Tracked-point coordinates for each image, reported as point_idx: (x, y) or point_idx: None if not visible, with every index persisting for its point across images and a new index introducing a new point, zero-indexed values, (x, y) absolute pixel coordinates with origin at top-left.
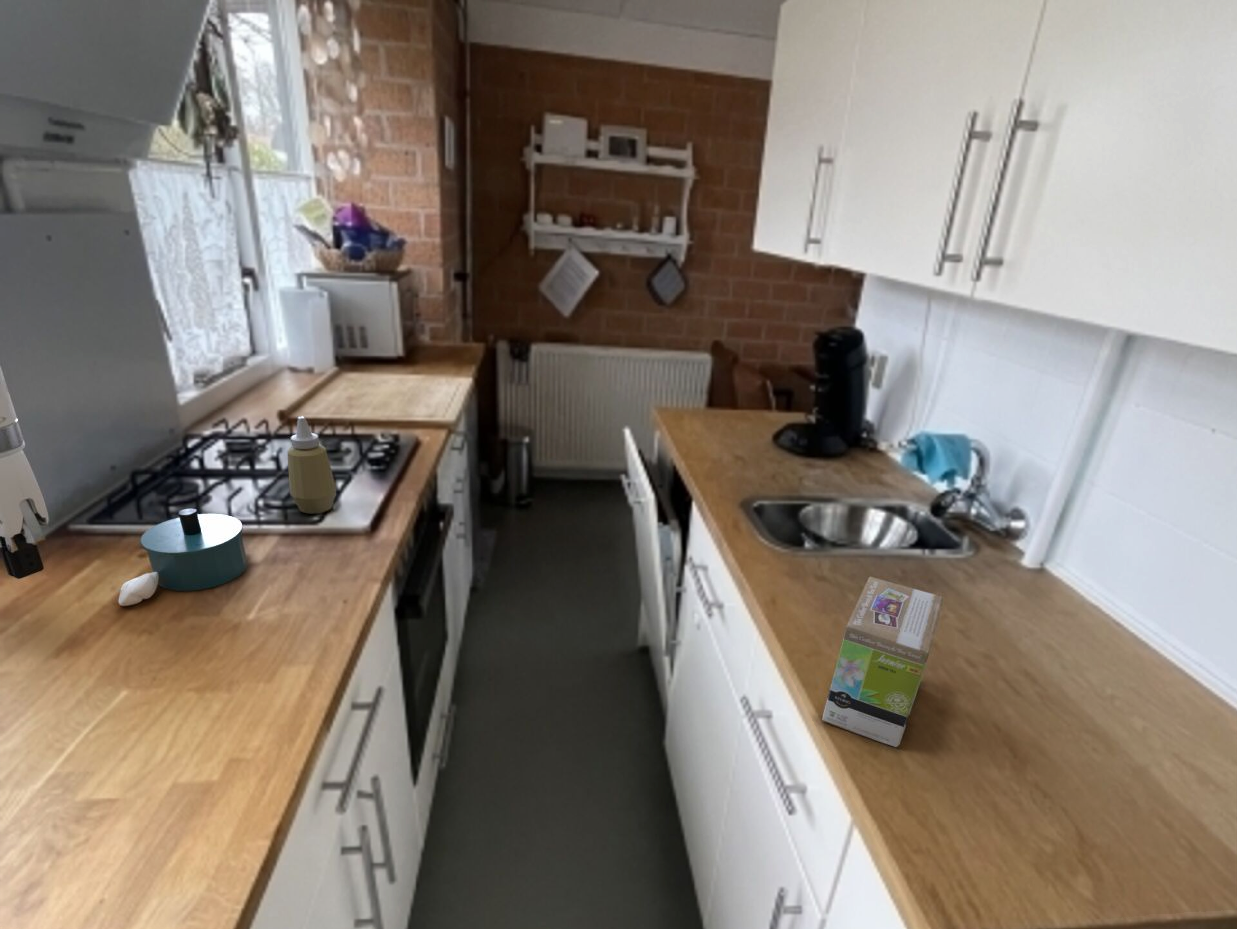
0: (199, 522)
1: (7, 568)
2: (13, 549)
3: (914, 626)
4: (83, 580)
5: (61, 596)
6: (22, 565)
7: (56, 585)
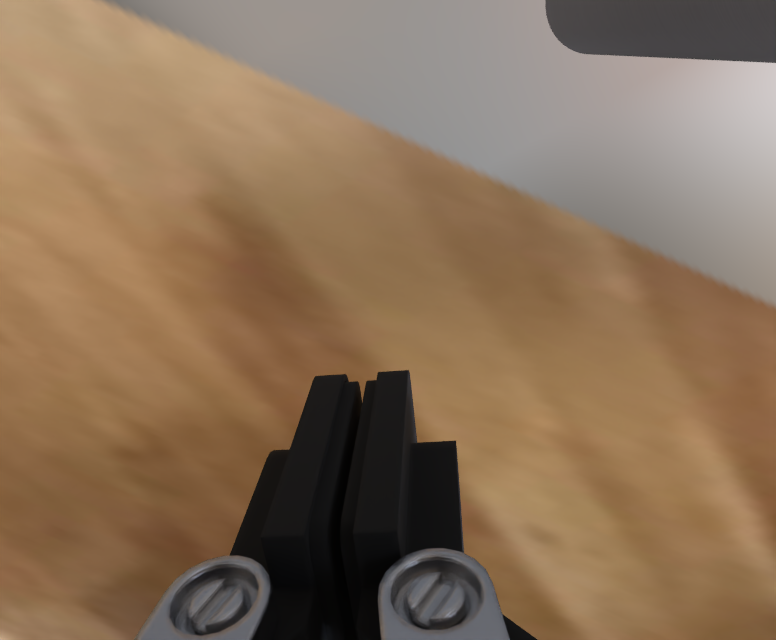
0: None
1: (382, 403)
2: (166, 598)
3: None
4: (701, 515)
5: (658, 423)
6: (269, 478)
7: (760, 452)
